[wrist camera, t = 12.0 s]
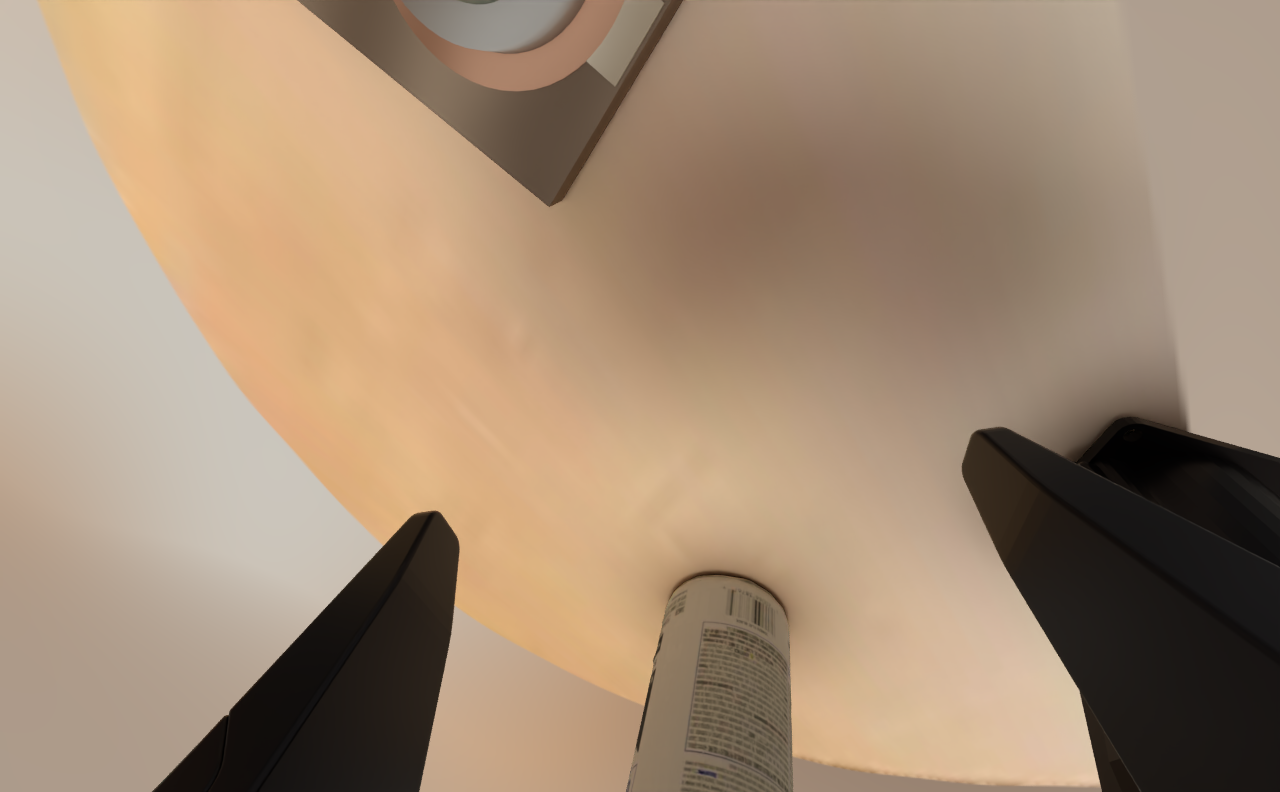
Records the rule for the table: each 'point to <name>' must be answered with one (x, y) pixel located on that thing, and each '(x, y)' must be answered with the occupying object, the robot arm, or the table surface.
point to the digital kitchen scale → (514, 80)
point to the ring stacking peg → (496, 22)
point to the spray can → (718, 694)
